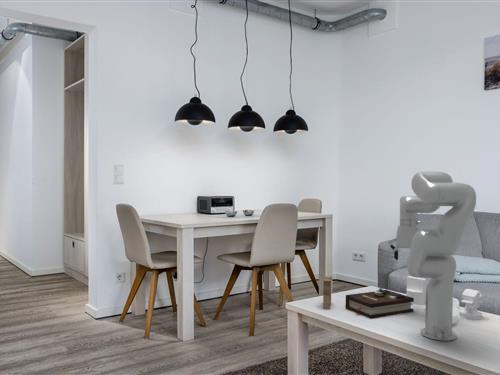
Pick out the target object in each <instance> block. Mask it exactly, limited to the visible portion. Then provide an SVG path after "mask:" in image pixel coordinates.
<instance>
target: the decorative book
mask: <svg viewBox="0 0 500 375" xmlns="http://www.w3.org/2000/svg"><path fill="white" fill-rule="evenodd" d="M411 302H414V298H412V297H408V296H407V295H404V294H402V293H399V292H398V293H397V292H394V291H391V290H388V289H383V288H378V290H376V291H369V292H359V293H352V294H345V309H346V311H347V310H348V311H350V312H352V313H356V314H358V315H360V316H363V317H366V318H368V319H370V320H371V319H377V318H383V317H391V316H398V315H402V314H408V313H414V308H412V306H413V305H414V304H411Z"/></svg>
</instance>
